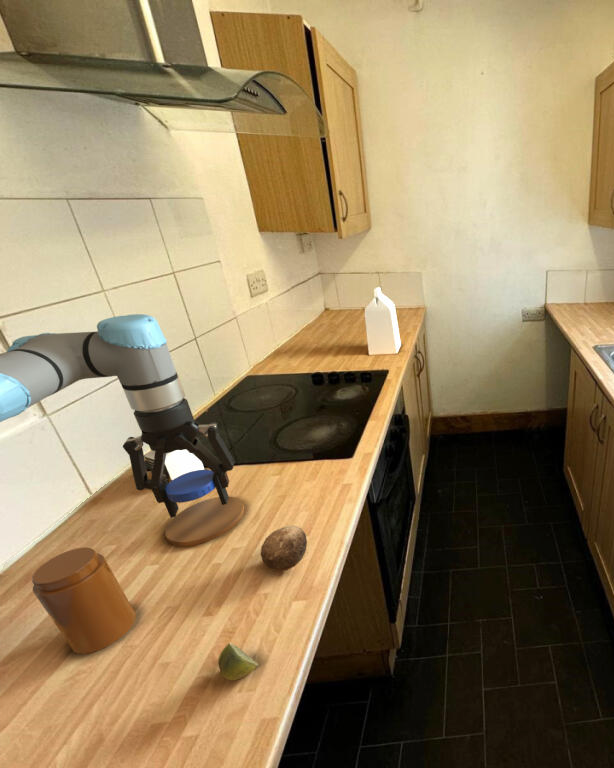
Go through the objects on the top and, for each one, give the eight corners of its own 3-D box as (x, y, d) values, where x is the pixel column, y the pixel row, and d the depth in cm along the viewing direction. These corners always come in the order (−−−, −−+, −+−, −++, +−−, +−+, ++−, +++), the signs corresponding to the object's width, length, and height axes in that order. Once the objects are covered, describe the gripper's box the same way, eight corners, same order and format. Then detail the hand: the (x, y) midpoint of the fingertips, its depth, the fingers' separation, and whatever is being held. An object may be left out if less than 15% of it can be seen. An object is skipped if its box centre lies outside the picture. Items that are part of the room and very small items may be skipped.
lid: (227, 478, 84) (224, 470, 83) (197, 504, 77) (193, 495, 76) (190, 476, 84) (187, 468, 84) (157, 501, 77) (153, 493, 76)
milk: (374, 345, 183) (365, 286, 173) (400, 344, 185) (393, 285, 174) (368, 354, 173) (359, 292, 162) (397, 353, 174) (389, 291, 163)
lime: (234, 656, 59) (223, 632, 57) (269, 654, 59) (259, 630, 57) (215, 690, 55) (203, 666, 53) (252, 687, 55) (242, 663, 53)
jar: (57, 652, 60) (10, 584, 54) (106, 607, 66) (68, 543, 61) (103, 656, 59) (60, 588, 54) (148, 610, 66) (113, 545, 60)
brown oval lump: (306, 519, 79) (286, 512, 74) (325, 552, 76) (305, 547, 70) (269, 548, 78) (246, 544, 72) (287, 584, 74) (264, 581, 69)
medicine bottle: (154, 480, 96) (134, 436, 91) (186, 463, 102) (169, 421, 97) (174, 487, 94) (154, 442, 89) (205, 470, 100) (189, 426, 95)
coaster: (149, 544, 78) (147, 540, 78) (201, 498, 90) (200, 495, 90) (213, 548, 77) (211, 544, 77) (258, 501, 89) (257, 497, 89)
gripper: (231, 385, 80) (261, 481, 89) (93, 406, 72) (141, 510, 81) (225, 401, 74) (258, 503, 83) (73, 426, 66) (128, 535, 75)
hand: (200, 506), depth 82 cm, fingers closed on lid, 8 cm apart
